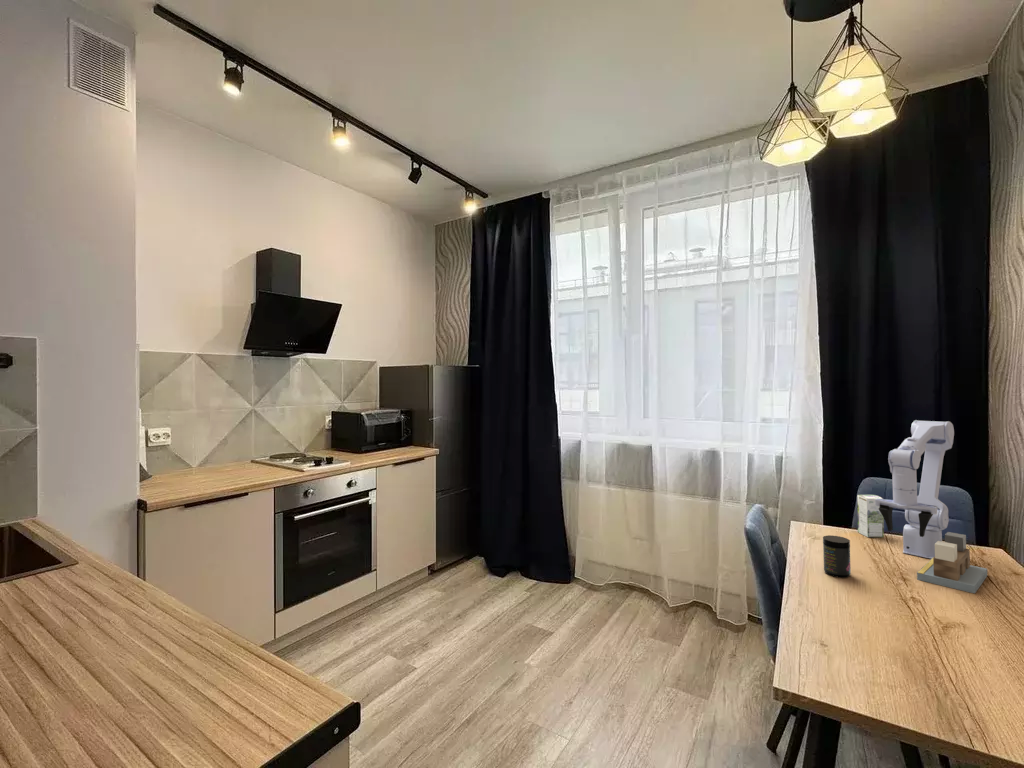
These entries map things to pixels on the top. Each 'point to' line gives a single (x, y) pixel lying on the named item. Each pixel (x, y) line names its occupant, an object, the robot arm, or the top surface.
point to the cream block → (946, 551)
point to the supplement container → (836, 556)
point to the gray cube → (956, 540)
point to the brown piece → (952, 566)
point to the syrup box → (869, 516)
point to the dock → (966, 582)
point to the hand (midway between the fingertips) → (905, 533)
